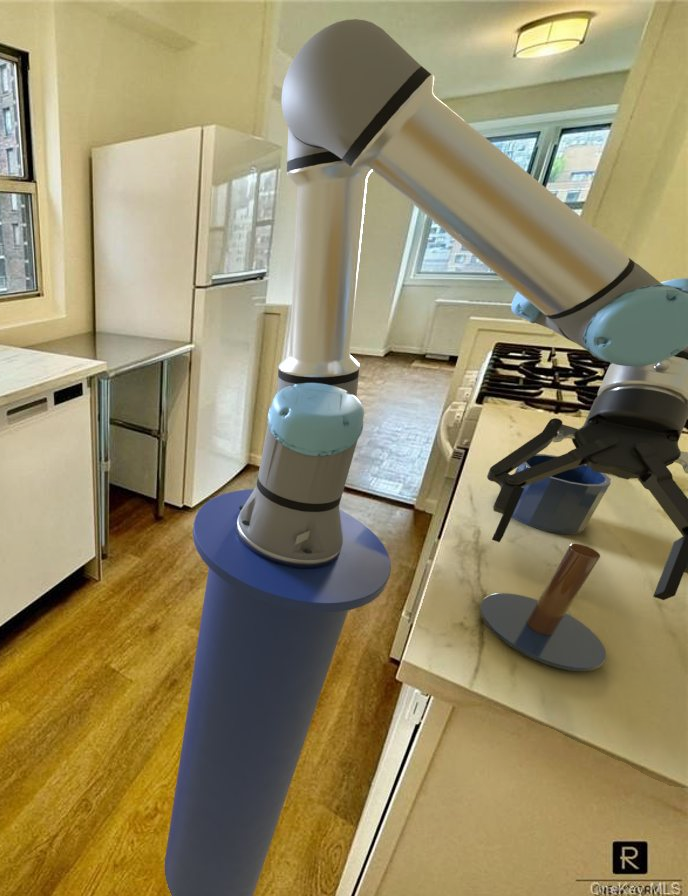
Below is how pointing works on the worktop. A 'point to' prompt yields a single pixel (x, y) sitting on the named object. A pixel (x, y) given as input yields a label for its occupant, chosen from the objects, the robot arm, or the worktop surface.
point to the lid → (549, 617)
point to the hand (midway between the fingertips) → (573, 565)
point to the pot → (560, 498)
